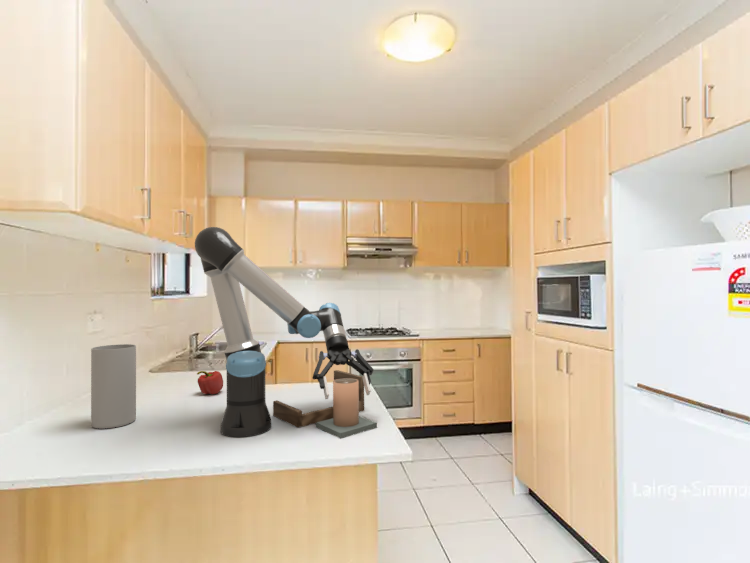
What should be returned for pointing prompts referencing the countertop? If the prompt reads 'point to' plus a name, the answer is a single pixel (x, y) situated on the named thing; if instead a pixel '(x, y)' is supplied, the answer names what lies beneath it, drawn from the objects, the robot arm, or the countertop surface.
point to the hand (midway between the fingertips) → (348, 395)
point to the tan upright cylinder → (345, 402)
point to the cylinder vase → (113, 385)
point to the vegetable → (210, 382)
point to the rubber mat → (346, 431)
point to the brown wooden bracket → (300, 420)
